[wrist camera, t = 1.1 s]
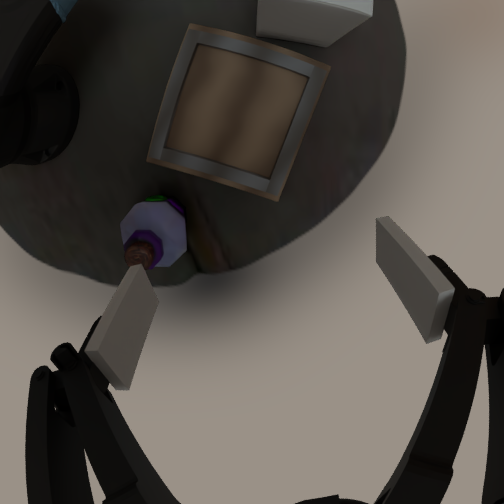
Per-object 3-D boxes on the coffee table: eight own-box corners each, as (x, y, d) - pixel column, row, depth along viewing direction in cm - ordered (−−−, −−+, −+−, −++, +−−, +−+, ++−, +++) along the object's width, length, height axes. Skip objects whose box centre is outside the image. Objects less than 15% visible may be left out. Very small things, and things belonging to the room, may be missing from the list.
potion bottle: (182, 174, 36) (152, 205, 25) (208, 231, 40) (192, 280, 29) (128, 199, 37) (86, 237, 27) (156, 250, 41) (127, 301, 31)
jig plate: (151, 158, 35) (142, 163, 32) (193, 27, 27) (187, 20, 24) (276, 196, 37) (278, 205, 34) (327, 68, 29) (334, 65, 26)
